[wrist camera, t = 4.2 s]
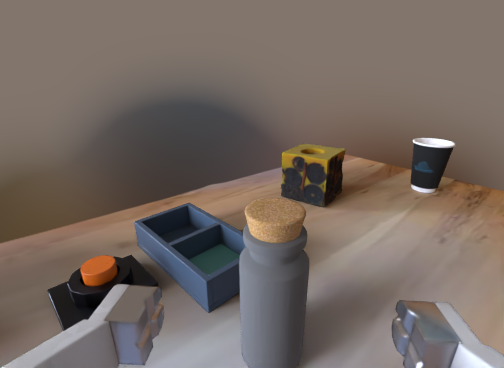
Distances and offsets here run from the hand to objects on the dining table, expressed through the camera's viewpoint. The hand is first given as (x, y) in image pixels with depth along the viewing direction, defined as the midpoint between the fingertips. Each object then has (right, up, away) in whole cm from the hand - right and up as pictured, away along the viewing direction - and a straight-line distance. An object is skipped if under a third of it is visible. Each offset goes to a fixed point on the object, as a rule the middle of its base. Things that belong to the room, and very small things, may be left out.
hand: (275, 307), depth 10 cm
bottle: (+1, -12, +18) cm, 21 cm away
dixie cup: (+39, +3, +55) cm, 67 cm away
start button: (-19, -7, +24) cm, 31 cm away
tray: (-9, -7, +31) cm, 33 cm away
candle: (+12, +2, +52) cm, 54 cm away
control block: (-19, -9, +24) cm, 32 cm away
